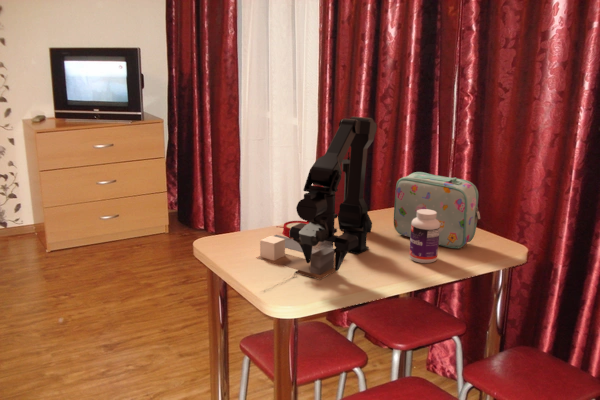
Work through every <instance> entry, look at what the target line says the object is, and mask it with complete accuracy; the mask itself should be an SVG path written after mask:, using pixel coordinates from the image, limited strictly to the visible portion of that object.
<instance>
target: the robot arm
mask: <svg viewBox="0 0 600 400" xmlns="http://www.w3.org/2000/svg"><path fill="white" fill-rule="evenodd" d="M377 128H378V126H377V122H375V120H374V119H373V117H364V116H363V117H362V116H351V117H350V118H343V119H340V121H339V123H338V129H337V130H336V132H335V134H334V136H333V138H332V140H331V142H330V144H329V146H328V147H327V150H326V152H325V153H324V154H323V155H322V156H320V157H318V158H317V159H316V160H315V162H314V163H313V165H312V166H311V167H310V169H309V172H308V175H307V176H306V177H307V178H306V180H305V184H304V185H303V186H304V187H303V191H304V192H305V193H304V194H303V198H301V199H300V200H299V201H298V202H297V205H296V208H295V209H296V213H297V215H298V216H299V218H300V219H301V220H302V221H305V222H307V221H309V224H303V223H300V224H298V225H295V226H293V227H291V229H290V231H289V237H288V238H290V237H291V238H292V239H293V240H294V241H296V242H297V243H299V244H300V246H301V248H302V251H303V252H302V253H303V256H304V259H306V262H307V263H310V260H311V254H312V246H316V245H317V244H318V242H319V241H320V242H324V241H325V240H326V241H330V242H333V247H335V248H333V250H334V252H335V253H334V267H335V272H338V271H339V269H340V268H341V265H342V264H343V263H344V262H343V261H344V259H345V258H346V256H347V254H348V253H352V254H355V255H356V254H357V255H359V254H361V253H363V252H365V251H367V250H369V249H370V248H369V246H367V240H368V239H367V237H368V236H367V235H368V234H370V233H372V228H373V222H372V220H371V218H370V216H369V214H368V212H369V210H368V209H369V208H368V205H367V203H366V201H365V198H364V191H365V179H366V169H367V168H366V167H367V159H368V157H367V156H368V148H369V147H370V146H371V144H372V143H373V142H374V139H375V135H376V134H377ZM349 148H350V153H349V157H350V165H349V177H348V189H347V198H346V199H345V200H344V199H343V201H342V203H340V204H339V211H338V213H336V193H337V192H338V190H339V189H338V186H339V184H340V182H341V179H342V174H343V173H342V172H343V170H342V161H343V160H345V157H346V155H347V153H348V152H349V151H348V150H349ZM336 219H337V220H338V221H337V222H338V228H339V230H340V231H343V232H342V234H341V235H335V234H336V233H337V231H338V228H336V227H335V220H336ZM328 237H329V238H328Z"/></svg>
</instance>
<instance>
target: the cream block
mask: <svg viewBox="0 0 600 400" xmlns="http://www.w3.org/2000/svg"><path fill="white" fill-rule="evenodd" d="M259 242H260V243H259V252H260V253H259V256H260V257H263V258H266V259H270V260H277V259H279V258H281V257H283V256H285V254H286V248H285V239H283V238H279V237H275V236H274V235H269V236H267V237H265V238H262V239H259Z"/></svg>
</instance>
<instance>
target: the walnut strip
mask: <svg viewBox="0 0 600 400" xmlns="http://www.w3.org/2000/svg"><path fill="white" fill-rule="evenodd" d="M255 259H257V260H261V261H265V262H268V263H271V264H276V265H280V266H283V267H286V268H290V269H292V270H293V269H294V270H295V271H294V273H296V274H300V275H302V276H306V277H311V278H313V279H317V280H322V279H324V278H325V277H327V276H329V275H330V274H333V273H334V272H336V271H335V253H334V250H332V249H328V248H324V249H322V250H319V251H317V252H315V253H313V254H311V260H310V263H307V262H306V259H305V257H300V256H295V255H292V254H289V253H285V256H283V257H281V258H279V259H277V260H270V259H266V258H263V257H260V255H259V256H257V257H255Z"/></svg>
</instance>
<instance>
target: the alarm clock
mask: <svg viewBox="0 0 600 400" xmlns="http://www.w3.org/2000/svg"><path fill="white" fill-rule="evenodd" d="M300 223H303V224H309V221H305V220H290V221H286V222H285V223H284V224H283V226H277V225H276V228H282V229H283V230H282V236H284V237H288V238H291V237H289V231H290V229H291V227H293V226H295V225H298V224H300Z"/></svg>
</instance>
